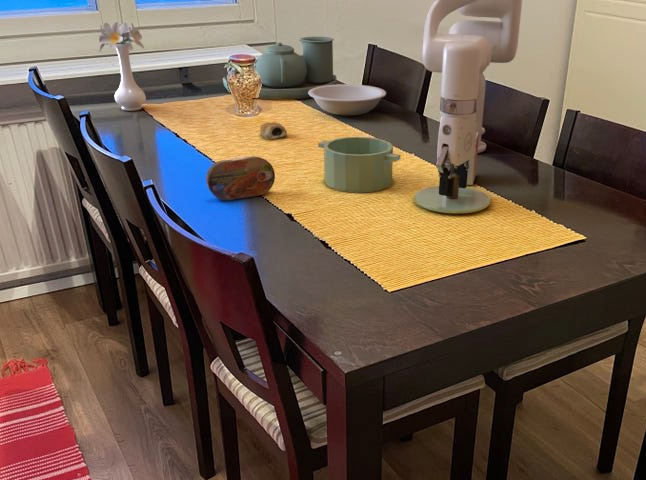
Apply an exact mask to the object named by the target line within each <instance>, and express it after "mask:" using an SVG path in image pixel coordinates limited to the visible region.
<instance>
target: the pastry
mask: <svg viewBox="0 0 646 480" xmlns="http://www.w3.org/2000/svg"><path fill="white" fill-rule="evenodd" d="M259 128H260V129H259V130H260V134H261V136H262V137H263V138H264V139H265V140H270V141H271V140H276V139H282V138H284V137H286V135H287V130H286V127H285V126H284V125H282V124H281V123H279V122H275V121H274V122H265V123H263V124H260V127H259Z"/></svg>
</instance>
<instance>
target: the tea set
mask: <svg viewBox="0 0 646 480" xmlns="http://www.w3.org/2000/svg"><path fill="white" fill-rule="evenodd" d="M298 40H299V42H300V43H301V46H302V54H299V53H297V52H295V48H294V47H293V46H291V45H287V44H283V43H282V42H281V41H278V42H277V43H276V44H272V45H268V46H267V47H266V48H265V52H263V53H262V54H261V55H259V56H258V57H259V58H258V59H257V60H256V62H255V68H256V70H257V72H258V73H259V75H260V76H261V79H262V87H261V90H260V93H259V97H258V100H270V101H282V100H283V101H285V100H303V99H310V98H312V97H311V96H310V95H309V94H308V92H309V90H311V89H313V88H316V87H320V86H326V85H337V84H338V79H337V75H336V74H334V51H333V50H334V49H333V48H334V47H333V46H334V45H333V43H334V41H335V39H334V38H333V37H329V36H305V37H298ZM226 64H227V63H225V64H224V67H226ZM222 84H223V85H224V88H225V89H226V90H227V92H228V93H230V91H229V89H228V86H227V80H226V76H224V77H223V78H222ZM230 94H231V93H230Z"/></svg>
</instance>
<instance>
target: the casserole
mask: <svg viewBox="0 0 646 480" xmlns="http://www.w3.org/2000/svg"><path fill="white" fill-rule="evenodd" d="M317 148H321V149H323V158H324V159H323V166H324V181H325V182H324V183H325V184H326V186H328V187H329V188H331V189H333V190H336V191H340V192H346V193H372V192H373V193H374V192H379V191H382V190H385V189H387V188H389V187H390V186H391V185H392V182H393V163H394V162H397V161H401V157H402V155H401V154H399V153H394V144H392V143H391V142H390V141H387V140H384V139H382V138H376V137H371V136H369V137H368V136H346V137H338V138H334V139H330V140H329V141H327V140H323V141H320V142H318V143H317Z"/></svg>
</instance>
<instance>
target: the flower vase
mask: <svg viewBox="0 0 646 480" xmlns="http://www.w3.org/2000/svg"><path fill="white" fill-rule="evenodd" d="M99 27H100V32H101V33H100V34H99V35H98V36H97V37H98V41H99V43H100V45H99V53H100V52H101V51H102V49H103V48H104V46H105V45H106V46H108V45H109V50H110V51H114V50H116V53H117V56H118V60H119V66H120V76H121V77H120V83H119V87H118V88H117V89H116V91H115V94H114V101H115V102H116V104H117V105H119V106H120V107H121V110H122V111H126V112H127V111H129V112H134V111H139V110H142V108H143V106H142V105H144V104H145V102H146V100H147V96H146V93H145V92H144V90H143V89H141V87H139V86H138V84H137V83H136V81H135V78H134V75H133V71H132V68H131V60H130V51H132V50H133V49H134V47H133V44H132V43H134V44H135V45H136V46H139V47H140V48H142V49H145V46H144V44H143V43H142V42H141V40H142V39H143V36H142V34H141V32H140V31H139V30H138V29H136V28H135V25H134V23H133V22H131V23H130V26H129V25H128V24H127V23H126V22H122V24H121V25H120V24H119V23H118V22H117V21H116V22H114V23H113V24H112V27H111V25H110V24H109V23H108V22H104V24H103V27H102V25H101V24H100V25H99ZM103 28H104V29H103Z"/></svg>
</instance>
